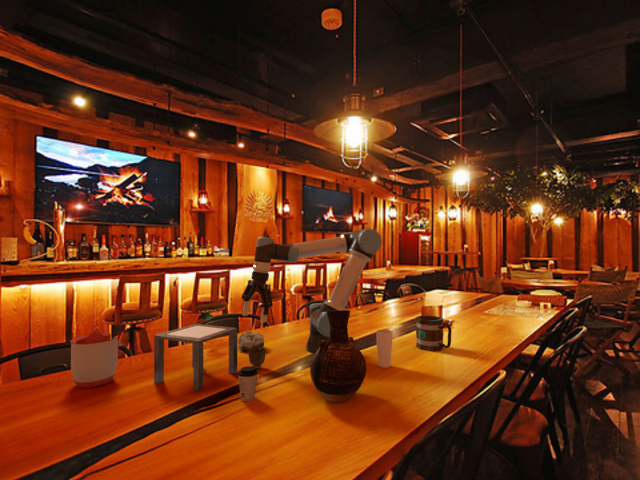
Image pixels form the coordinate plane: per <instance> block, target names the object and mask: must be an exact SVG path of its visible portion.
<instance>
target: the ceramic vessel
mask: <svg viewBox="0 0 640 480" xmlns="http://www.w3.org/2000/svg"><path fill="white" fill-rule="evenodd" d="M350 315H351V310H350V309H345V310H342V311H341V310H333V311H332V310H329V311H327V316H328V319H329V324H330V338H329V339H328V340H327V341H325V340H322V342H321V344H320V348H319V349H318V350H317V351H316V353H314V354H313V357H312V359H311V362H310V366H309V373H310V378H311V381H312V384H313V385H314V387H315V389H316V391H317V392H318V394H320V396H322V397H323V398H324V399H325V400H327V401H328V402H331V403H342V402H345V401H347V400H349V399H352V398H353V396H355V394H356V393H357V392H358V390H359V389H360V388H361V386H362V385H363V383H364V380H365V378H366V374H367V363H366V359H365V356H364V355H363V353H362V351H361V350H360V348H359V347H358V346H357V345H356V344H354V341H355V340H354V337H353V336H349V332H348V330H349V329H348V325H349V324H348V323H349V320H350Z"/></svg>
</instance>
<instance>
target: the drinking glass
mask: <svg viewBox="0 0 640 480" xmlns="http://www.w3.org/2000/svg"><path fill="white" fill-rule="evenodd" d="M375 337H376V350H377V363H378V364H377V365H378V367H380V368H383V369H387V368H390V367H392V366H391V365H392V363H391V361H392V349H393V331H392V330H390V329H377V330H376V336H375Z"/></svg>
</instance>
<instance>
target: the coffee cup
mask: <svg viewBox="0 0 640 480" xmlns="http://www.w3.org/2000/svg"><path fill="white" fill-rule="evenodd" d="M258 374H259V370H258V369H256V368H255V367H253V365H252V366H251V365H250V366H248V365H247V366H243V367H241V368H240V369H239V370H238V371H237V376H238V377H237V378H238V384H239V392H240V393H239V394H240V399H241V401H243V402H250V401H253V400H254V399H255V398H256V389H257V380H258Z"/></svg>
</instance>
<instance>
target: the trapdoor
mask: <svg viewBox="0 0 640 480" xmlns="http://www.w3.org/2000/svg"><path fill="white" fill-rule="evenodd" d="M224 330H227V329H222V328H213V327H204V326H194V327H190V328H187V329H183V330H179V331H176V332H172V333H169V334H166V335H171V336H178V337H186V338H193V339H200V338H203V337H206V336H209V335H212V334H215V333H218V332H221V331H224Z"/></svg>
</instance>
